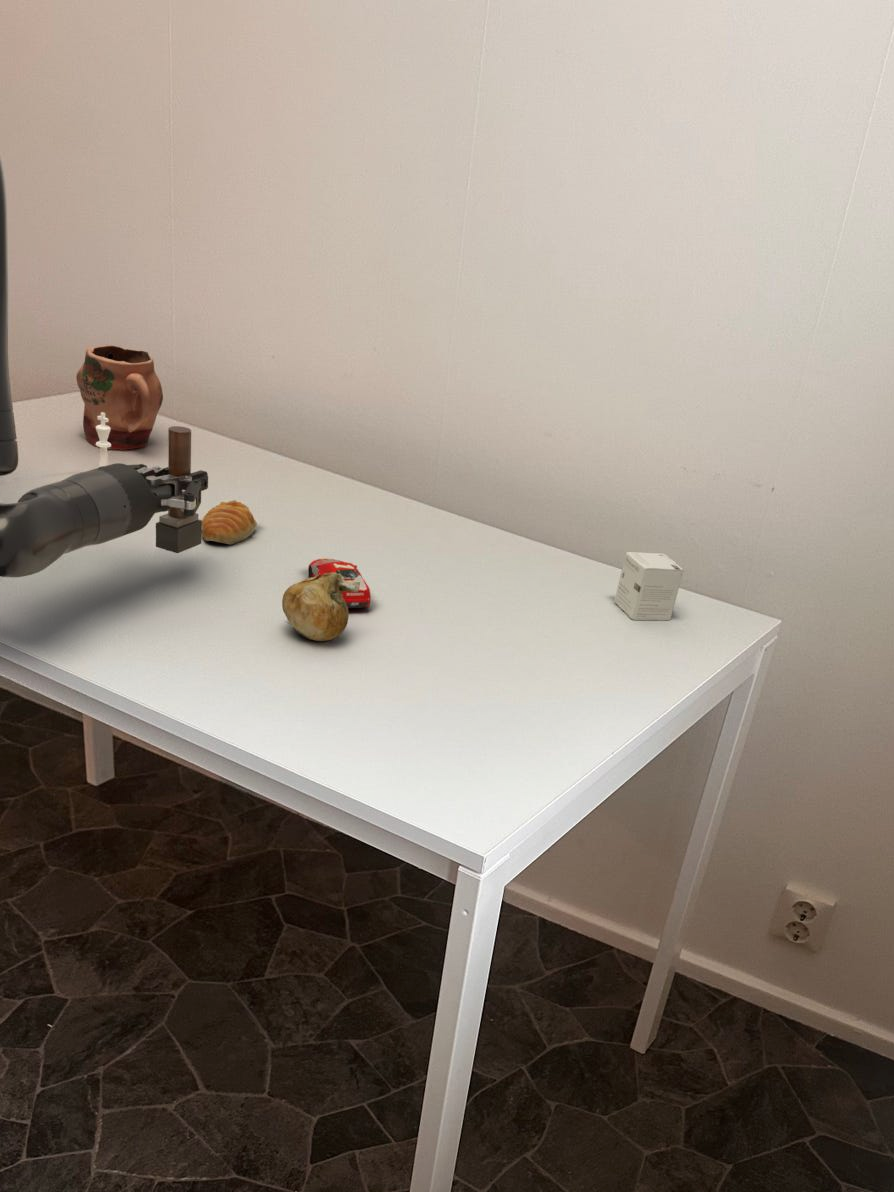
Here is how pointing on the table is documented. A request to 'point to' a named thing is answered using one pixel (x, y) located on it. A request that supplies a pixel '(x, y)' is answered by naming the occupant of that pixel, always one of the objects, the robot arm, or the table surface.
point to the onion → (318, 606)
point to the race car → (347, 573)
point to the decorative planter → (119, 395)
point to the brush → (175, 526)
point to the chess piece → (103, 440)
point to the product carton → (648, 586)
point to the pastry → (228, 523)
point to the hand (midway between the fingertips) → (193, 476)
